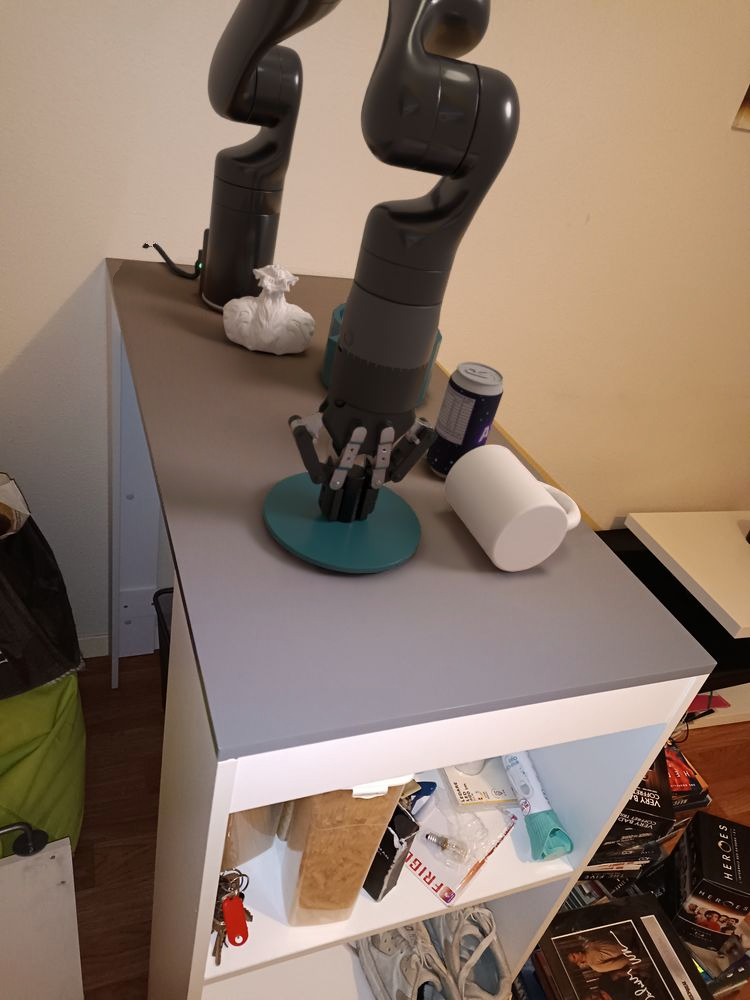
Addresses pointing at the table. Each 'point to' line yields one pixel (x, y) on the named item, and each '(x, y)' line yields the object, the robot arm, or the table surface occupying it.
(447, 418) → the beverage can
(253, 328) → the white tied bag
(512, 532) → the mug
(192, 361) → the table surface
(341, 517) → the lid
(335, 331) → the pot
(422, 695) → the table surface
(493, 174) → the robot arm
